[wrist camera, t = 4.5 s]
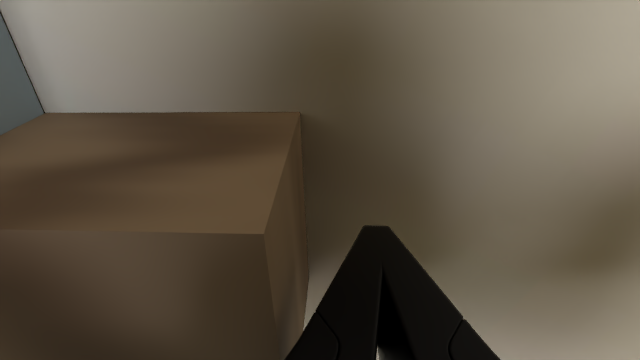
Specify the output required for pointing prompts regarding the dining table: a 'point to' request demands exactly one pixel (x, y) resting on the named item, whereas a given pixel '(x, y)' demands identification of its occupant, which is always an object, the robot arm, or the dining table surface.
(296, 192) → the walnut brick
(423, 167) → the dining table surface
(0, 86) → the light blue block
